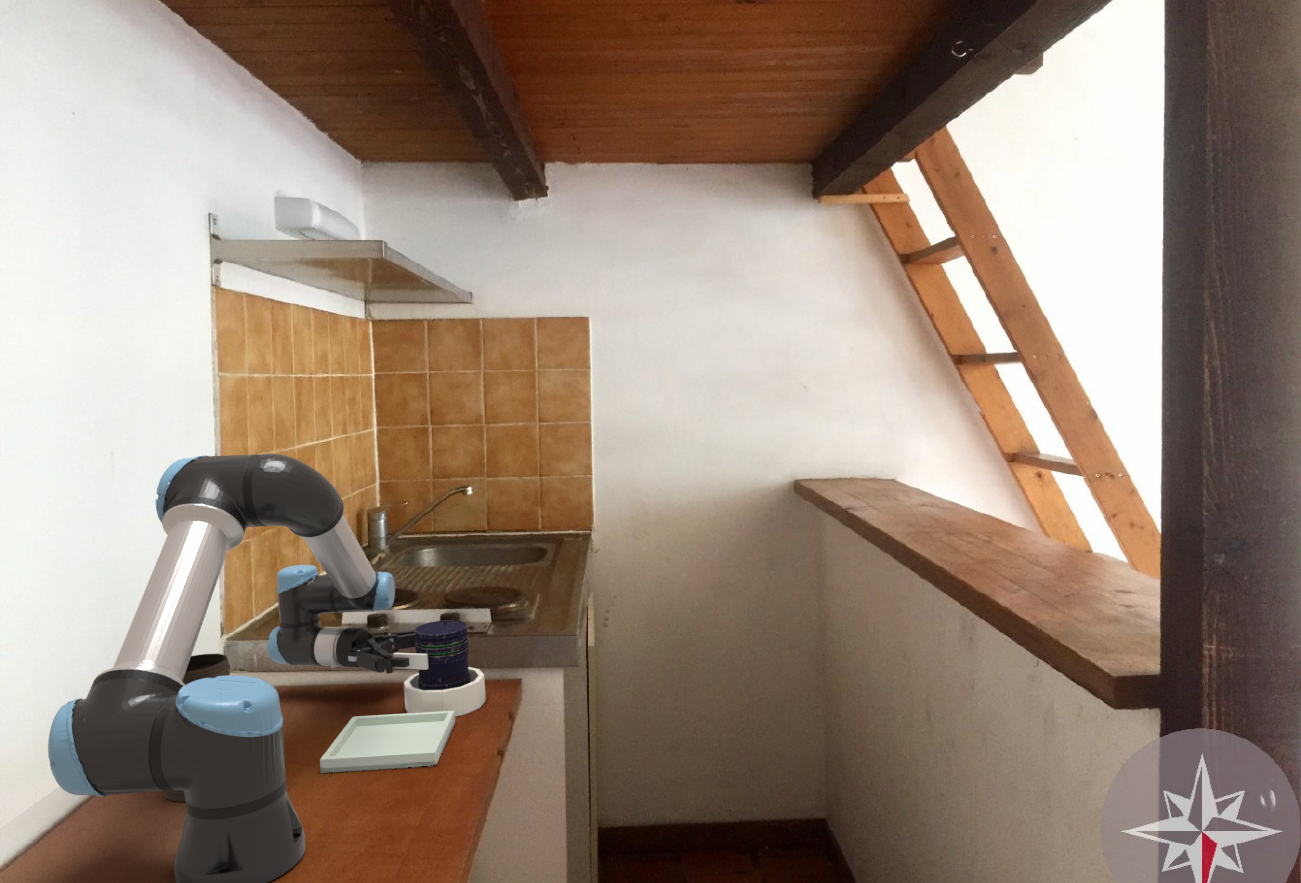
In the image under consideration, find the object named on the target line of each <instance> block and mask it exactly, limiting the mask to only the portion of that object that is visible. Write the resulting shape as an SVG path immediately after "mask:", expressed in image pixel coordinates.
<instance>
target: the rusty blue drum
mask: <svg viewBox="0 0 1301 883" xmlns="http://www.w3.org/2000/svg"><path fill="white" fill-rule="evenodd" d="M414 630H415V635H416V638H415V640H416V643H415V647H414V648H415V651H416V652H415V653H417V654H428V669H427V670H421V669H418V673H419V679H418V689H421V690H445V689H451V688H456V687H461V686H463V685H466V684H468V683H471V681H470V673H469V670H468V667H469V656H468V655H469V652H470V648H469V644H470V643H469V640H470V639H469V635H468V633H469V632H468V623H467V622H464V621H462V620H455V619H454V620H448V619H447V620H439V621H438V620H436V621H431V622H427V623H424V624H421V625H418V626H417V627H415V629H414Z"/></svg>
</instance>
